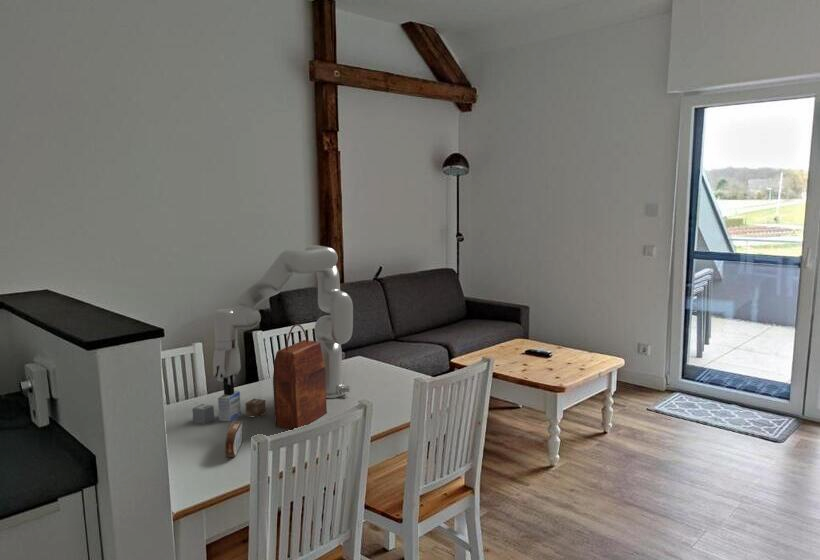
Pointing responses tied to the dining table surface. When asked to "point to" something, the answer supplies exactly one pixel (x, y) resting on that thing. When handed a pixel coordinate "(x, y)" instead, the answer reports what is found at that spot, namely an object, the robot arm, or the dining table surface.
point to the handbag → (299, 384)
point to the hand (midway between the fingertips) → (229, 393)
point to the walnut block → (255, 407)
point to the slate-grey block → (203, 413)
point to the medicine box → (229, 406)
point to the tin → (234, 439)
